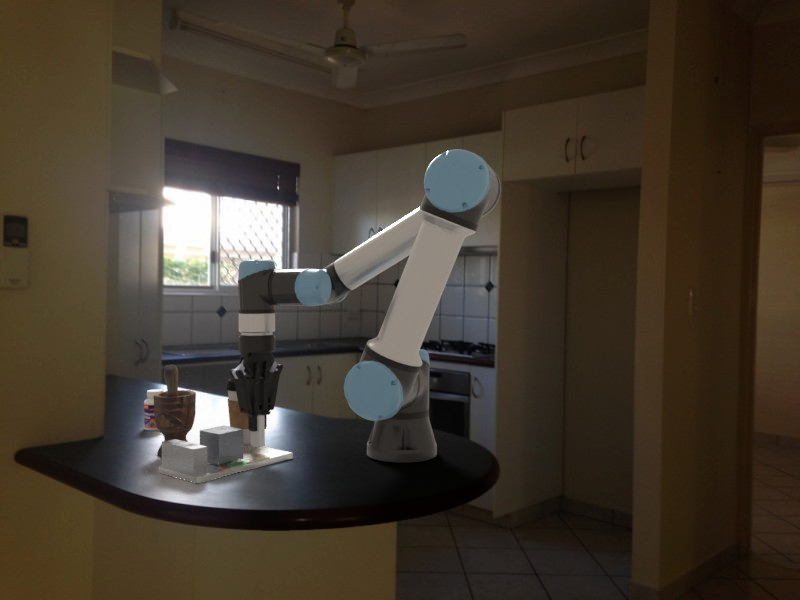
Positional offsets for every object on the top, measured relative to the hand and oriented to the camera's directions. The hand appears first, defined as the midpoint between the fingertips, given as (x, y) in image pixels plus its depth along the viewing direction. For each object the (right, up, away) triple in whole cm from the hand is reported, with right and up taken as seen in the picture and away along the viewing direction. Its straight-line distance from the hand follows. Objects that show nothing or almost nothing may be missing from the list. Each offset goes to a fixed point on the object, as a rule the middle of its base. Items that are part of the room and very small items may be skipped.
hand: (257, 445), depth 145 cm
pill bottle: (-32, -2, +29) cm, 43 cm away
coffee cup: (-6, -3, +15) cm, 17 cm away
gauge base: (-5, -3, -6) cm, 8 cm away
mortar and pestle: (-18, -3, +2) cm, 18 cm away
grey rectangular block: (-5, -1, -8) cm, 9 cm away
